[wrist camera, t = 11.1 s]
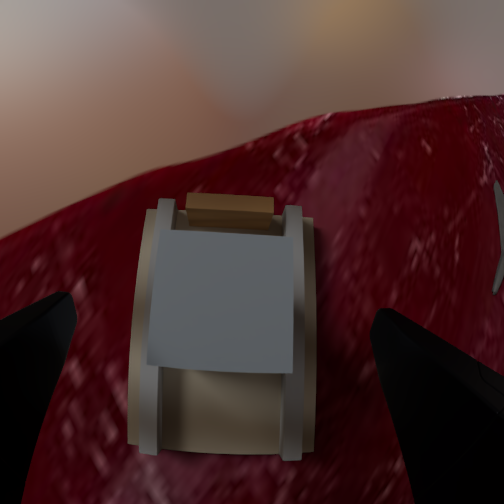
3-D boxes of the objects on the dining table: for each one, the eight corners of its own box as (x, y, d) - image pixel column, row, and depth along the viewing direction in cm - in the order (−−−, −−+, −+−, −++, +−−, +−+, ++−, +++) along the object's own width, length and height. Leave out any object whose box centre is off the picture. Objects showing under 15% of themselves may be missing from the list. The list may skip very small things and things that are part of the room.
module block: (260, 368, 18) (292, 373, 9) (183, 364, 17) (146, 364, 9) (262, 289, 19) (292, 228, 11) (188, 285, 19) (161, 221, 10)
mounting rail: (309, 447, 17) (326, 463, 14) (132, 440, 16) (114, 453, 13) (309, 224, 22) (323, 200, 19) (150, 215, 21) (138, 190, 18)
